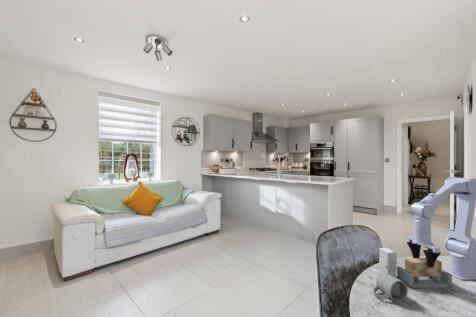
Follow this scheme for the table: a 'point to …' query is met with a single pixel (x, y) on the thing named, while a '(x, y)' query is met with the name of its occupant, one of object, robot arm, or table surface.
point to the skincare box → (387, 261)
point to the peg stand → (424, 279)
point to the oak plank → (422, 267)
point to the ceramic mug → (390, 288)
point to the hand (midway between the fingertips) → (423, 262)
